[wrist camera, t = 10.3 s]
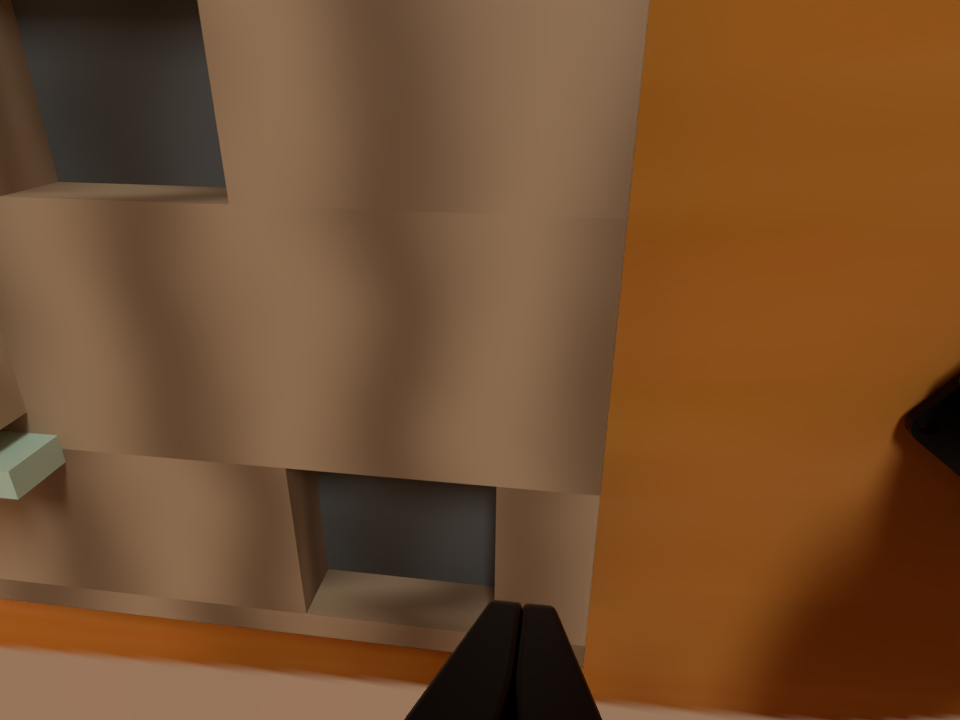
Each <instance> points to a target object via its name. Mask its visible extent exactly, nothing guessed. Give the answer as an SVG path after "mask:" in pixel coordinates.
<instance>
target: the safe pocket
mask: <svg viewBox="0 0 960 720" xmlns="http://www.w3.org/2000/svg"><path fill="white" fill-rule="evenodd" d="M65 462H66V461H65V458H64V455H63V452H62V448H61V445H60V442H59V439H58V436H57V435H46V434H35V433H23V432H11V431H0V498H7V499H17V500H19V499H20V498H21V497H22V496H24V495H25V494H26V493H27V492H29V491H30V490H31V489H32V488H34V487H35V486H36V485H37V484H39V483H40V482H41V481H42V480H44V479H45V478H46V477H47V476H49V475H50V474H51V473H52V472H54V471H55V470H56V469H57V468H59V467H60V466H61V465H63V464H64V463H65Z"/></svg>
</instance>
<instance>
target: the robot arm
mask: <svg viewBox="0 0 960 720" xmlns="http://www.w3.org/2000/svg"><path fill="white" fill-rule="evenodd" d="M927 420H933V423H932V424H931V425H930V426H928V427H926V428H921V425H922V424H923V423H924V422H925V421H927ZM905 427H906V428H907V430H908V431H909V432H910V433H911V434H912V436H913V437H914V438H915V439H916V440H917V441H918V442H920V443H921V444H922V445H923V446H924V447H926V448H927V449H928V450H929V451H930V452H932V453H933V454H934V455H935V456H936V457H937V458H939V459H940V460H941V461H942V462H943V463H945V464H946V465H947V466H948V467H949V468H951V469H952V470H953V471H954V472H955V473H957V474H958V475H959V476H960V374H959V375H958V376H957V377H955V378H954V379H953V380H952V381H950V382H949V383H948V384H946V385H945V386H944V387H942V388H941V389H940V390H938V391H937V392H936V393H934V394H933V395H932V396H930V397H929V398H928V399H926V400H925V401H924V402H922V403H921V404H920V405H918V406H917V407H916V408H914V409H913V410H912V411H911V412H910V413H909V414H908V415H907V417H906V419H905ZM404 720H602V718H601V716H600V713H599V711H598V709H597V706H596V704H595V701H594V699H593V697H592V694H591V692H590V689H589V687H588V685H587V682H586V680H585V677H584V675H583V673H582V670H581V668H580V665H579V663H578V661H577V658H576V656H575V654H574V651H573V649H572V646H571V644H570V642H569V639H568V637H567V634H566V632H565V630H564V627H563V625H562V622H561V620H560V618H559V615H558V613H557V611H556V609H555V608H554V607H553V606H551V605H542V604H533V603H526V604H525V605H524V606H523V609H522V605H521V604H520V603H519V602H515V601H505V600H492V601H490V602H489V603H488V605H487V606H486V607H485V609H484V610H483V611H482V613H481V614H480V616H479V617H478V618H477V620H476V621H475V623H474V624H473V625H472V627H471V628H470V629H469V631H468V632H467V634H466V635H465V636H464V638H463V639H462V640H461V642H460V643H459V645H458V646H457V647H456V649H455V650H454V652H453V653H452V654H451V656H450V657H449V658H448V660H447V661H446V663H445V664H444V665H443V667H442V668H441V669H440V671H439V672H438V674H437V675H436V676H435V678H434V679H433V681H432V682H431V683H430V685H429V686H428V687H427V689H426V690H425V692H424V693H423V694H422V696H421V697H420V699H419V700H418V701H417V703H416V704H415V705H414V707H413V708H412V710H411V711H410V712H409V714H408V715H407V716H406V718H405V719H404Z"/></svg>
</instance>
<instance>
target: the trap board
mask: <svg viewBox="0 0 960 720" xmlns="http://www.w3.org/2000/svg"><path fill="white" fill-rule="evenodd" d="M648 8H649V0H0V331H1V334H2V337H3V340H4V343H5V346H6V349H7V352H8V355H9V358H10V362H11V365H12V368H13V371H14V374H15V377H16V380H17V383H18V386H19V389H20V392H21V395H22V398H23V401H24V404H25V407H26V410H27V413H25V414H24V415H22V416H21V417H19V418H17V419H16V420H14V421H13V422H11V423H10V424H8V425H7V426H5V427H4V428H2V429H1V430H0V431H11V432H23V433H35V434H46V435H57V436H58V439H59V442H60V445H61V448H62V452H63V455H64V458H65V461H66V462H65V463H64V464H63V465H61V466H60V467H59V468H57V469H56V470H55V471H54V472H52V473H51V474H50V475H49V476H47V477H46V478H45V479H44V480H42V481H41V482H40V483H39V484H37V485H36V486H35V487H34V488H32V489H31V490H30V491H29V492H27V493H26V494H25V495H24V496H22V497H21V498H20V499H19V500H17V499H7V498H0V598H2V599H10V600H19V601H27V602H36V603H44V604H52V605H61V606H69V607H77V608H86V609H94V610H102V611H111V612H119V613H128V614H136V615H144V616H153V617H161V618H169V619H178V620H186V621H194V622H203V623H211V624H220V625H228V626H236V627H245V628H253V629H261V630H270V631H278V632H287V633H295V634H303V635H312V636H320V637H328V638H337V639H345V640H353V641H362V642H370V643H379V644H387V645H395V646H404V647H412V648H420V649H429V650H437V651H445V652H454V650H455V649H456V647H457V646H458V645H459V643H460V642H461V640H462V639H463V638H464V636H465V635H466V634H467V632H468V631H469V629H470V628H471V627H472V625H473V624H474V623H475V621H476V620H477V618H478V617H479V616H480V614H481V613H482V611H483V610H484V609H485V607H486V606H487V605H488V603H489V602H490V601H492V600H505V601H515V602H519V603H520V604H521V605H522V609H523V606H524V605H525V604H526V603H533V604H542V605H551V606H553V607H554V608H555V609H556V611H557V613H558V615H559V618H560V620H561V622H562V625H563V627H564V630H565V632H566V634H567V637H568V639H569V642H570V644H571V646H572V649H573V651H574V654H575V656H576V658H577V661H578V663H579V665H580V668H583V662H584V652H585V642H586V632H587V621H588V611H589V601H590V591H591V581H592V571H593V561H594V551H595V541H596V531H597V521H598V511H599V501H600V491H601V481H602V471H603V461H604V451H605V441H606V431H607V421H608V410H609V400H610V390H611V380H612V370H613V360H614V350H615V340H616V330H617V320H618V310H619V300H620V290H621V280H622V270H623V260H624V250H625V240H626V230H627V220H628V209H629V199H630V189H631V179H632V169H633V159H634V149H635V139H636V129H637V119H638V109H639V99H640V89H641V79H642V69H643V59H644V49H645V39H646V29H647V19H648Z"/></svg>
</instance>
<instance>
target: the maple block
mask: <svg viewBox="0 0 960 720" xmlns="http://www.w3.org/2000/svg"><path fill="white" fill-rule="evenodd" d="M25 413H27V410H26V407H25V404H24V401H23V398H22V395H21V392H20V389H19V386H18V383H17V380H16V377H15V374H14V371H13V368H12V365H11V362H10V358H9V355H8V352H7V349H6V346H5V343H4V340H3V337H2V334H1V331H0V430H1V429H2V428H4V427H5V426H7V425H8V424H10V423H11V422H13V421H14V420H16V419H17V418H19V417H21V416H22V415H24V414H25Z"/></svg>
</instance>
